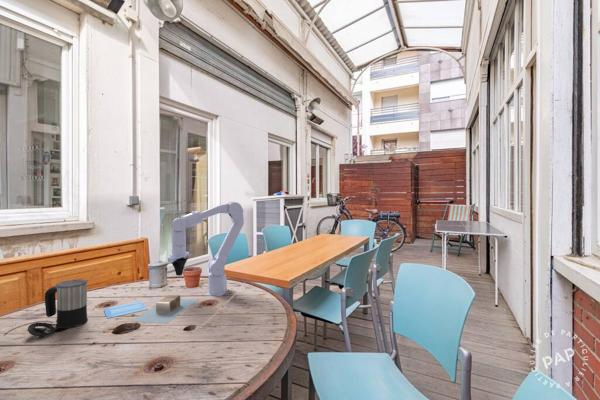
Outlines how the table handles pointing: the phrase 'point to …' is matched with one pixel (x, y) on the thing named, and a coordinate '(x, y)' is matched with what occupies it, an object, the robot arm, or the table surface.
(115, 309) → the blue streaked flat panel
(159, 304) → the walnut block
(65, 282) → the milk frother
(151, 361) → the table surface
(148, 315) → the light blue mat
